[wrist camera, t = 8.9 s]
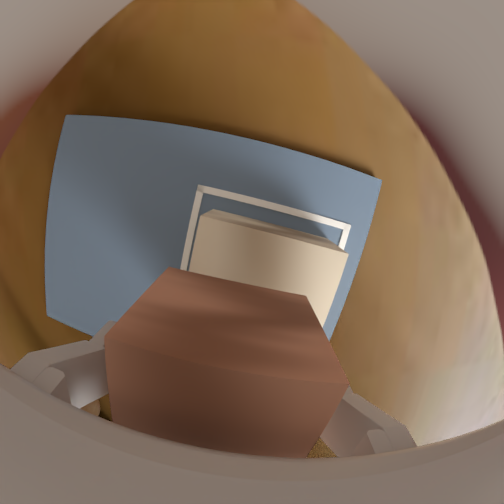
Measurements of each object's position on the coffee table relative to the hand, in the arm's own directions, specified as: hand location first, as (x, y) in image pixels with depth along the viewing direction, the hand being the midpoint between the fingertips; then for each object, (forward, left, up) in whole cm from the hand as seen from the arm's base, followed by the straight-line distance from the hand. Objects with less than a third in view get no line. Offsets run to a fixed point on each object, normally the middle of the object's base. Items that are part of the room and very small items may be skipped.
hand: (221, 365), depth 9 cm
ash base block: (-1, -1, -8) cm, 9 cm away
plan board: (+4, -1, -9) cm, 10 cm away
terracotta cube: (0, 0, -2) cm, 2 cm away
